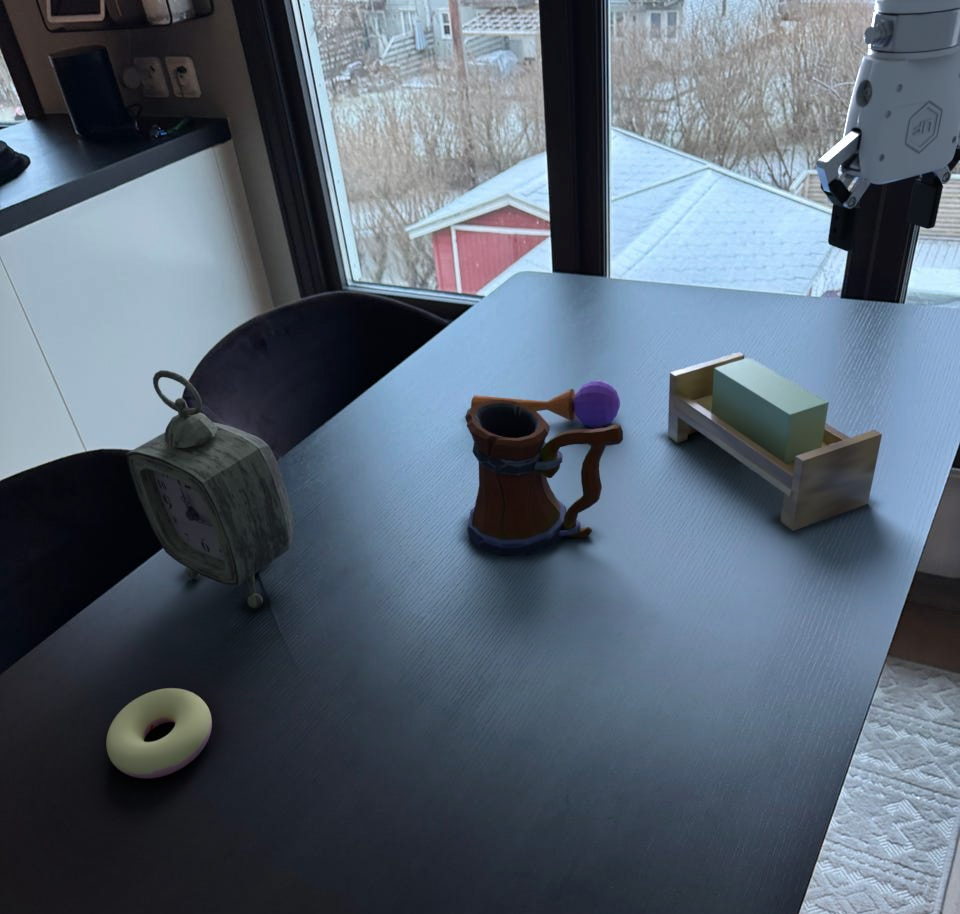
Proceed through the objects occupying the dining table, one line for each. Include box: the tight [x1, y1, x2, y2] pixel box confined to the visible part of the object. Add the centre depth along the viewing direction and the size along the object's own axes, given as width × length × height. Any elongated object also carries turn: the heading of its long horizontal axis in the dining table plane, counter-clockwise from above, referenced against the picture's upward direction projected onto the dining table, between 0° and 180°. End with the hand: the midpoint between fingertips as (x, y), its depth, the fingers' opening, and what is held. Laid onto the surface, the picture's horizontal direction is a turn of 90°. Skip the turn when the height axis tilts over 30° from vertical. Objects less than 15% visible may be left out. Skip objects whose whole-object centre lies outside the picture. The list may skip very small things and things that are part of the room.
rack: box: [667, 351, 883, 532], centre depth 106 cm, size 10×25×9 cm, turn 23°
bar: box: [711, 356, 829, 463], centre depth 104 cm, size 5×14×6 cm, turn 23°
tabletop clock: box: [126, 369, 295, 609], centre depth 95 cm, size 14×9×25 cm, turn 53°
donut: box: [105, 687, 213, 779], centre depth 84 cm, size 10×5×9 cm
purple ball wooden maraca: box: [470, 380, 621, 428], centre depth 122 cm, size 6×6×20 cm
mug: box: [464, 399, 624, 557], centre depth 99 cm, size 18×12×15 cm, turn 69°
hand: (880, 236), depth 91 cm, fingers open, 9 cm apart
